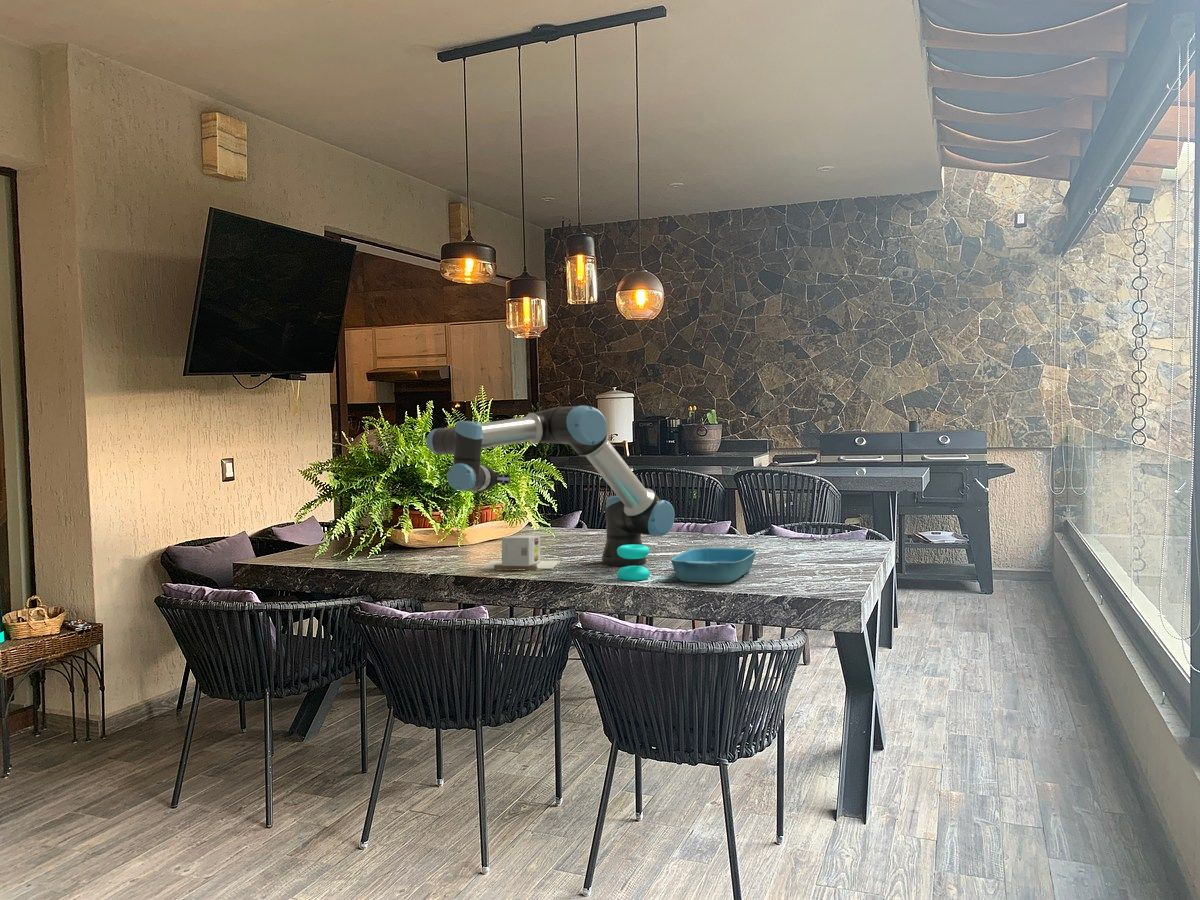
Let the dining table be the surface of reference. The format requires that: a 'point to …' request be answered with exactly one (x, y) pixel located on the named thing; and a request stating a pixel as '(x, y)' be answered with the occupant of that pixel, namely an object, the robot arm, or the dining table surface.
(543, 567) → the mat
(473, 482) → the robot arm
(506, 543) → the supplement box
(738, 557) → the casserole dish
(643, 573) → the donuts
